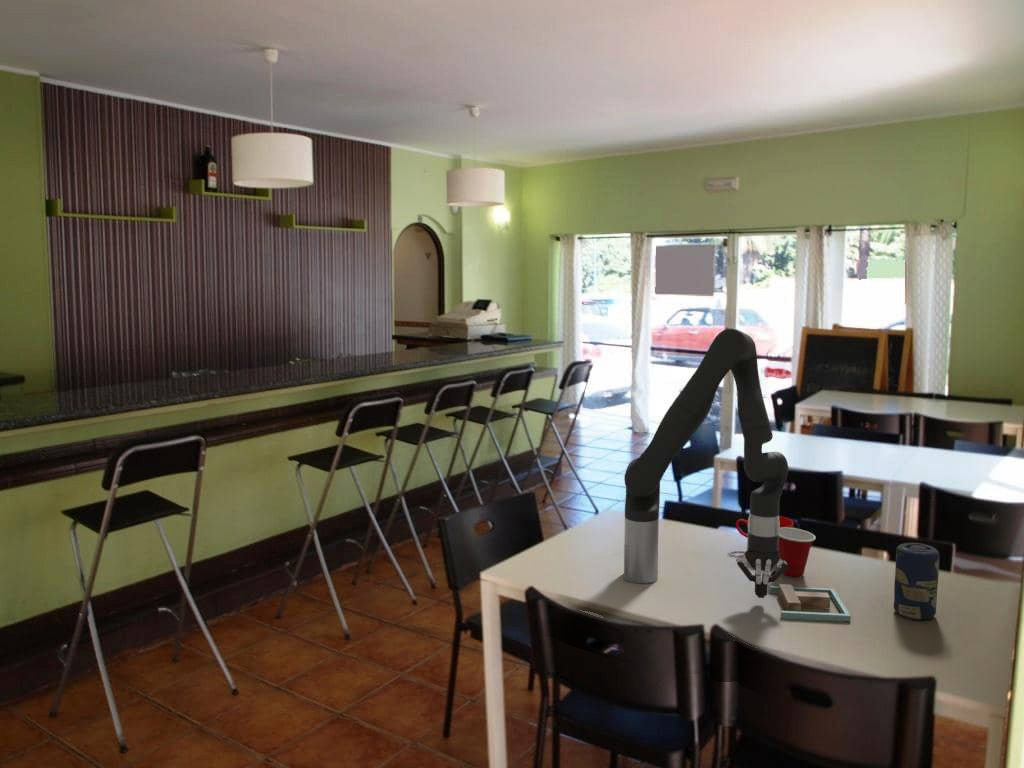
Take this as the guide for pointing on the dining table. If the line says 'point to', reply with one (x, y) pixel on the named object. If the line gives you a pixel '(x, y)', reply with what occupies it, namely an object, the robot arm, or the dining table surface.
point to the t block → (802, 599)
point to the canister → (916, 580)
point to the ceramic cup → (783, 521)
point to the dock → (814, 615)
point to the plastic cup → (794, 549)
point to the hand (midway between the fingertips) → (760, 596)
